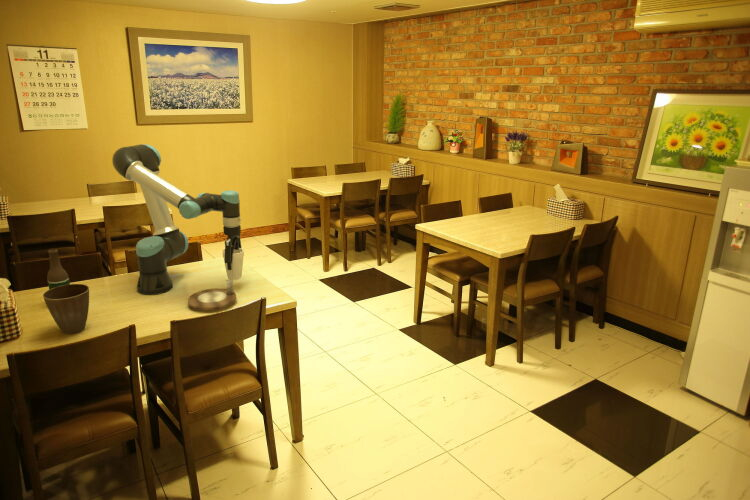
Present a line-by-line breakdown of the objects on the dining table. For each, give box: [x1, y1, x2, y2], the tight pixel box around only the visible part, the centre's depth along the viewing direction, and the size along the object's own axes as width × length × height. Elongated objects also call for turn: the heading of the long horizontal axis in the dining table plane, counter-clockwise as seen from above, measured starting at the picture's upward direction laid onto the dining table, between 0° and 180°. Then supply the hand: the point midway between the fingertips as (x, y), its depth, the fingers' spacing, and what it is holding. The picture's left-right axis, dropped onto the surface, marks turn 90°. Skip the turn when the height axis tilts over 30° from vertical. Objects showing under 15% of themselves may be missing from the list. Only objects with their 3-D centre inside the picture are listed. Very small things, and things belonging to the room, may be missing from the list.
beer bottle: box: [46, 248, 71, 290], centre depth 215 cm, size 8×8×24 cm
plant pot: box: [42, 283, 90, 335], centre depth 193 cm, size 15×15×16 cm
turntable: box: [187, 279, 237, 311], centre depth 219 cm, size 20×20×8 cm
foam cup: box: [222, 248, 245, 281], centre depth 235 cm, size 10×9×13 cm
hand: (234, 272), depth 236 cm, fingers closed on foam cup, 9 cm apart
